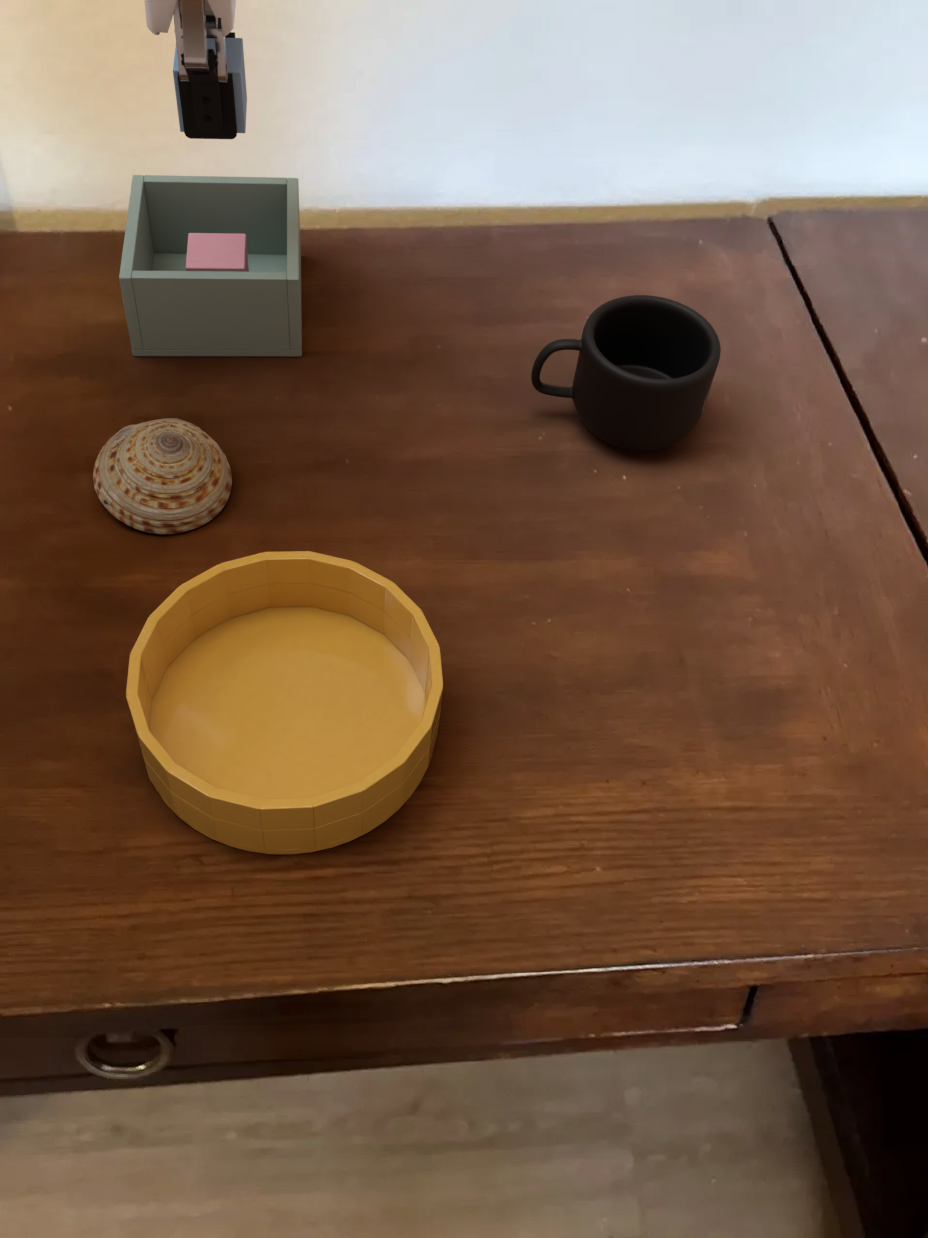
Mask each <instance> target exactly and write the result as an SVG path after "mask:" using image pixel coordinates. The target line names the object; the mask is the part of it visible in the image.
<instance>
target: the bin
mask: <svg viewBox="0 0 928 1238" xmlns="http://www.w3.org/2000/svg"><path fill="white" fill-rule="evenodd" d="M299 189H300V187H299V178H298V177H270V176H269V177H268V176H267V177H266V176H216V175H215V176H212V175H211V176H209V175H208V176H207V175H205V176H204V175H165V174H164V175H161V174H157V175H156V174H155V175H154V174H144V175H143V174H132V177H131V186H130V193H129V201H128V208H127V216H126V222H125V229H124V230H125V231H124V238H123V245H122V252H121V259H120V268H119V274H118V280H119V281H118V282H119V285H120V290H121V297H122V303H123V308H124V313H125V319H126V324H127V330H128V336H129V341H130V347H131V352H132V356H133V357H302V356H303V332H302V331H303V329H302V328H303V327H302V325H303V322H302V319H303V318H302V316H303V315H302V314H303V313H302V245H301V244H302V243H301V242H302V241H301V217H300V216H301V213H300V190H299ZM189 233H233V234H246V242H247V255H248V268H249V272H231V271H186V256H187V244H188V234H189Z"/></svg>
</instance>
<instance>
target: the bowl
mask: <svg viewBox="0 0 928 1238" xmlns="http://www.w3.org/2000/svg"><path fill="white" fill-rule="evenodd" d="M441 653H442V652H441V647H440V644H439V642H438V640H437V637H436V636H435V634H434V632H433V630H432V628H431V626H430V624H429V621H428V620H427V618H426V616H425V613H424V612H423V610H422V609H421V608H420V607H419V605H417V604H416V603H415V602H414V601H413V599H411V598H410V597H409V595H407V594H406V593H405V592H404V590H402V589H401V588H400V587H399V586H398V585H397V584H396V583H395V582H394V581H392V580H390V579H389V578H387V577H385V576H383V575H381V574H379V573H377V572H375V571H373V570H371V569H370V568H368V567H366V566H364V565H363V564H360V563H358V562H357V561H354V560H349V559H345V558H342V557H338V556H333V555H329V554H324V553H321V552H320V553H319V552H317V551H311V550H303V551H302V550H293V551H292V550H291V551H262V552H258V553H254V554H251V555H247V556H243V557H240V558H235V559H232V560H231V559H230V560H227V561H223V562H220V563H217V564H215V565H214V566H212V567H210V568H209V569H206V570H205V571H204V572H201V573H199V574H198V575H196V576H195V577H192V578H191V579H189V580H187V581H185V582H183V583H181V584H180V585H179V586H178V587H177V588H175V590H173V591H172V593H171V594H170V595H169V596H167V598H165V600H164V601H163V602H162V603H160V604H159V606H157V607H156V608H155V609H154V611H152V613H150V615H148V617H147V619H146V621H145V623H144V625H143V627H142V630H141V631H140V632H139V635H138V637H137V640H136V641H135V643H134V646H133V647H132V648H131V651H130V653H129V658H128V667H127V668H128V669H127V677H126V678H127V679H126V689H125V698H126V699H125V700H126V702H127V705H128V710H129V714H130V717H131V721H132V726H133V729H134V733H135V736H136V741H137V744H138V747H139V749H140V750H139V751H140V753H141V757H142V761H143V763H144V767H145V770H146V774H147V776H148V779H149V781H150V782H151V783H152V785H153V787H154V789H155V791H156V792H157V794H158V795H159V796H160V798H161V799H162V801H163V802H164V803H165V805H166V806H167V807H168V808H169V809H170V810H171V811H172V812H173V813H174V814H175V815H176V817H178V818H179V819H180V820H181V821H183V822H184V823H185V824H187V825H188V826H189V827H191V828H192V829H193V830H195V831H197V832H198V833H200V834H202V835H203V836H206V837H207V838H209V839H211V840H213V841H216V842H218V843H220V844H223V845H225V846H228V847H231V848H235V849H238V850H243V851H245V852H252V853H258V854H266V855H298V854H307V853H314V852H318V851H323V850H329V849H332V848H335V847H338V846H341V845H343V844H346V843H349V842H351V841H354V840H356V839H357V838H359V837H362V836H364V835H366V834H367V833H369V832H371V831H373V830H374V829H376V828H377V827H378V826H380V825H382V824H383V823H385V822H386V821H387V820H388V819H389V818H391V817H392V816H393V815H394V814H395V813H397V812H398V811H399V810H400V809H401V808H402V806H404V804H405V803H406V802H407V801H408V800H409V799H410V798H411V797H412V795H413V794H414V793H415V791H416V789H418V786H419V785H420V783H421V782H422V781H423V778H424V776H425V774H426V772H427V770H428V768H429V765H430V763H431V760H432V757H433V753H434V751H435V745H436V741H437V738H438V734H439V727H440V720H441V710H442V702H443V694H444V693H443V692H444V678H443V676H444V675H443V666H442V656H441Z"/></svg>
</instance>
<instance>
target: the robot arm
mask: <svg viewBox="0 0 928 1238" xmlns="http://www.w3.org/2000/svg"><path fill="white" fill-rule="evenodd" d="M143 1H144V10H145V20H146V21H145V22H146V27H147V29H148V30H149V31H150V32H151V33H152V34H153V35H155V36H159V35H160V34H161V33H163V34H164V33H165V34H169V33H168V32H169V29H170V27H171V24H172V20H173V25H174V31H173V32H174V34H175V35H174V36H175V47H176V46H177V56H178V66H179V72H178V76H177V77H178V86H179V94H180V102H181V110H182V118H183V126H184V132H183V133H184V135H185V137H186V138H188V139H191V140H192V139H194V140H195V139H197V140H198V139H199V140H234V139H235V138H237V135H238V133H237V122H236V110H235V98H234V86H233V75H232V74H228V72H227V57H226V44H225V38H236V32H235V31H233V30H234V27H235V16H236V4H237V0H143ZM232 31H233V32H232ZM207 38H215V48H216V55H215V52H214V49H208V45H207Z"/></svg>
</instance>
